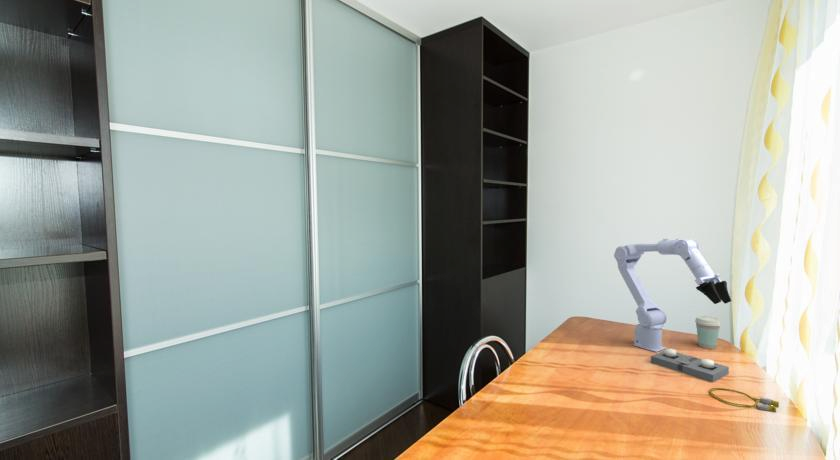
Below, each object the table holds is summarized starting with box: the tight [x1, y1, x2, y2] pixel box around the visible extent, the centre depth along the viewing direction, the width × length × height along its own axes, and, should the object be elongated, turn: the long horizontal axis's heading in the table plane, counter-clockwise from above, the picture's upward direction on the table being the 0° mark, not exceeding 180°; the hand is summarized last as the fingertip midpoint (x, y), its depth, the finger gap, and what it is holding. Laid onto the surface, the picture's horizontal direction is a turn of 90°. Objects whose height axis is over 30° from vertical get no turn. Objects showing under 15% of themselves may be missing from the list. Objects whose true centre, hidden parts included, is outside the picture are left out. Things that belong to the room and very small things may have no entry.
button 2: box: [700, 357, 715, 368], centre depth 134 cm, size 4×4×2 cm
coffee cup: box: [695, 315, 721, 350], centre depth 160 cm, size 8×8×12 cm
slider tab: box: [678, 353, 690, 364], centre depth 138 cm, size 3×2×3 cm
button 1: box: [664, 347, 677, 357], centre depth 144 cm, size 4×4×2 cm
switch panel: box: [650, 350, 730, 383], centre depth 139 cm, size 20×12×2 cm, turn 32°
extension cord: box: [709, 387, 780, 413], centre depth 116 cm, size 12×16×2 cm
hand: (723, 302), depth 134 cm, fingers open, 7 cm apart
